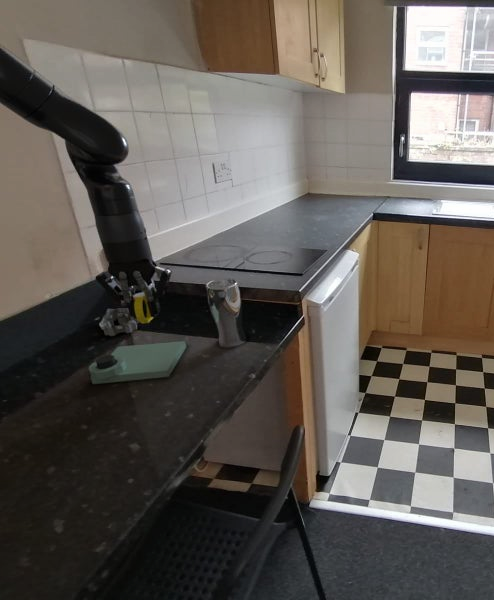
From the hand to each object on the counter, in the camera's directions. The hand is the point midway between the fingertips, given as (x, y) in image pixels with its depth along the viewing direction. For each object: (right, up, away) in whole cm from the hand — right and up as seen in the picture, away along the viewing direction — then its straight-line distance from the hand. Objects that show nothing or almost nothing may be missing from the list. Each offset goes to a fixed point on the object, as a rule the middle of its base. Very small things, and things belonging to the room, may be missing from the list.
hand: (146, 315), depth 84 cm
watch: (0, -1, +1) cm, 1 cm away
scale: (-2, -11, +2) cm, 11 cm away
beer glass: (+13, -7, +12) cm, 19 cm away
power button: (-6, -10, -3) cm, 12 cm away
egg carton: (-18, -4, +18) cm, 26 cm away
